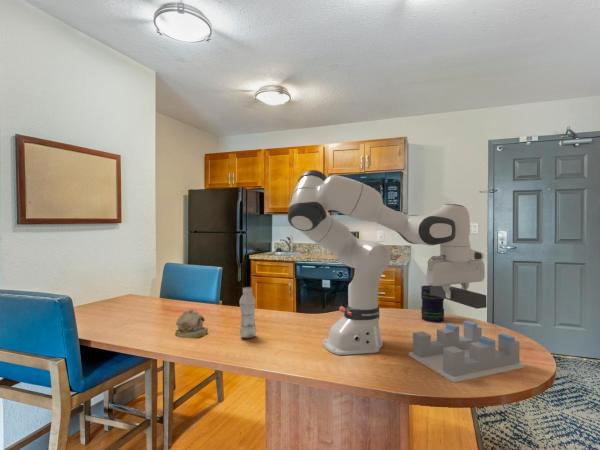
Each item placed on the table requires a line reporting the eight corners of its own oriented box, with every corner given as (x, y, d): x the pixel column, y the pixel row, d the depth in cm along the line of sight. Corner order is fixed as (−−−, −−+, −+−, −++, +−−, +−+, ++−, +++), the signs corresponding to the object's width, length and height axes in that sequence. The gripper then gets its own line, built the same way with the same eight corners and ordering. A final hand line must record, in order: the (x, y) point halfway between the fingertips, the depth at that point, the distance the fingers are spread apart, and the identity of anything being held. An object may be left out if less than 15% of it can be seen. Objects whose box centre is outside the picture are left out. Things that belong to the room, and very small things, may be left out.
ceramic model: (168, 336, 134) (168, 311, 134) (187, 327, 144) (186, 305, 144) (197, 339, 129) (196, 314, 129) (213, 330, 140) (213, 307, 139)
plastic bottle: (259, 335, 132) (258, 286, 132) (250, 341, 126) (249, 290, 126) (246, 333, 135) (245, 285, 135) (236, 339, 129) (235, 288, 129)
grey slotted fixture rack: (453, 382, 92) (453, 349, 92) (408, 355, 111) (408, 327, 111) (524, 367, 101) (524, 337, 101) (472, 344, 120) (472, 319, 120)
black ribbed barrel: (421, 321, 148) (420, 288, 148) (421, 315, 158) (421, 284, 157) (444, 323, 145) (444, 290, 145) (443, 317, 154) (443, 286, 154)
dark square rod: (476, 308, 94) (476, 296, 94) (430, 294, 113) (430, 283, 113) (486, 307, 95) (486, 295, 95) (438, 293, 115) (438, 283, 114)
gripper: (435, 257, 98) (435, 302, 98) (488, 253, 104) (488, 296, 104) (421, 255, 104) (422, 298, 104) (472, 252, 110) (472, 292, 110)
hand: (455, 297), depth 104 cm, fingers closed on dark square rod, 4 cm apart
